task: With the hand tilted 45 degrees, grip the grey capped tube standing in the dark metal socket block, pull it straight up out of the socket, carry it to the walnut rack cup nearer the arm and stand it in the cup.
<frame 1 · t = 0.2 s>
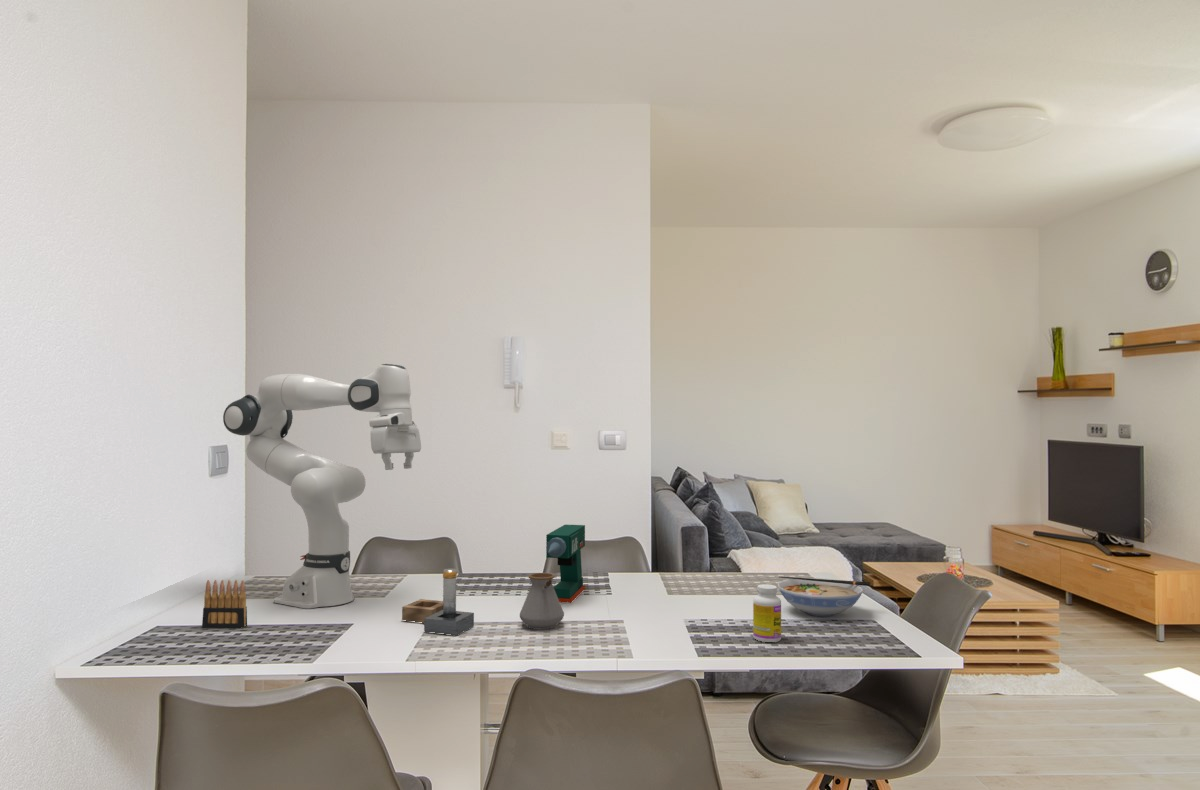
hand: (398, 469, 212), 39 cm above the table, tool pointing down, fingers open, 8 cm apart
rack: (426, 618, 200), on the table
power tool: (563, 601, 221), on the table
coffee pot: (544, 631, 189), on the table
ammunition clip: (224, 628, 192), on the table
supplement bottle: (767, 640, 183), on the table
grey capped tube: (449, 599, 190), in the socket block
socket block: (449, 629, 190), on the table
ramen bowl: (819, 614, 207), on the table
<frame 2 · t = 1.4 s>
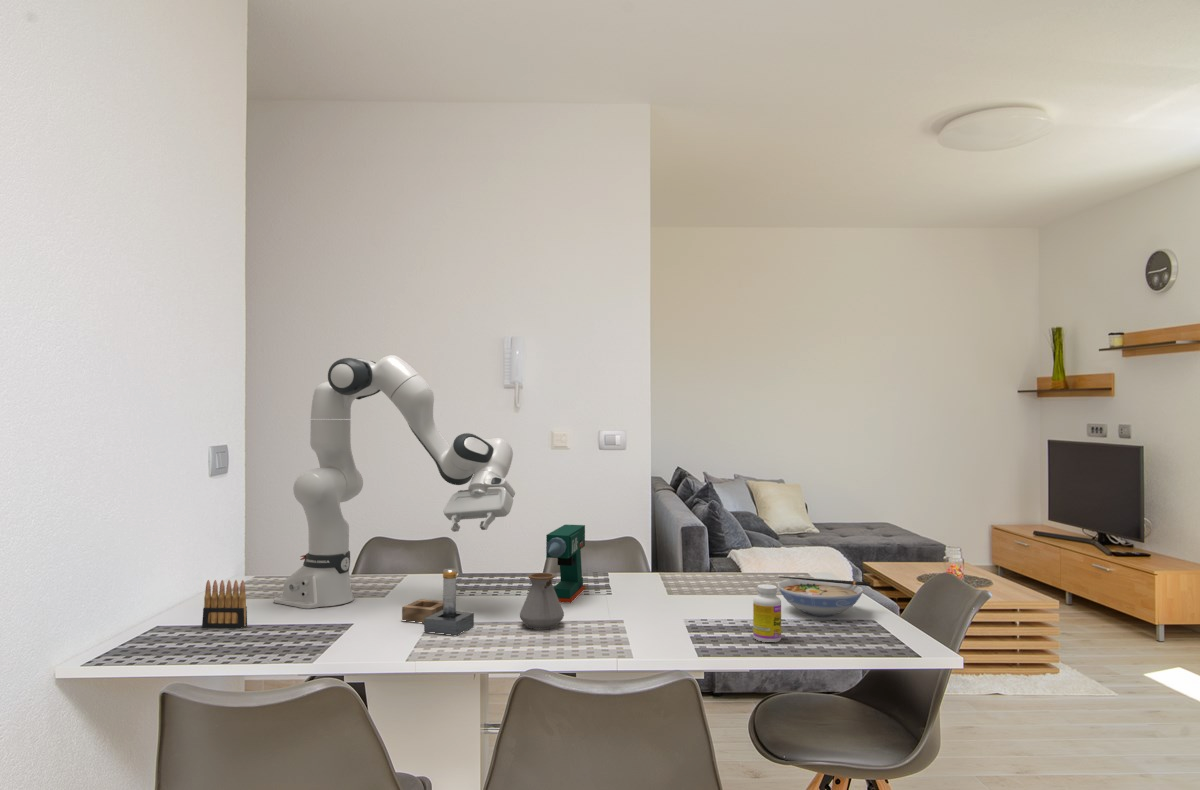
hand: (468, 529, 202), 24 cm above the table, tool tilted 45°, fingers open, 8 cm apart
nothing on the table moved.
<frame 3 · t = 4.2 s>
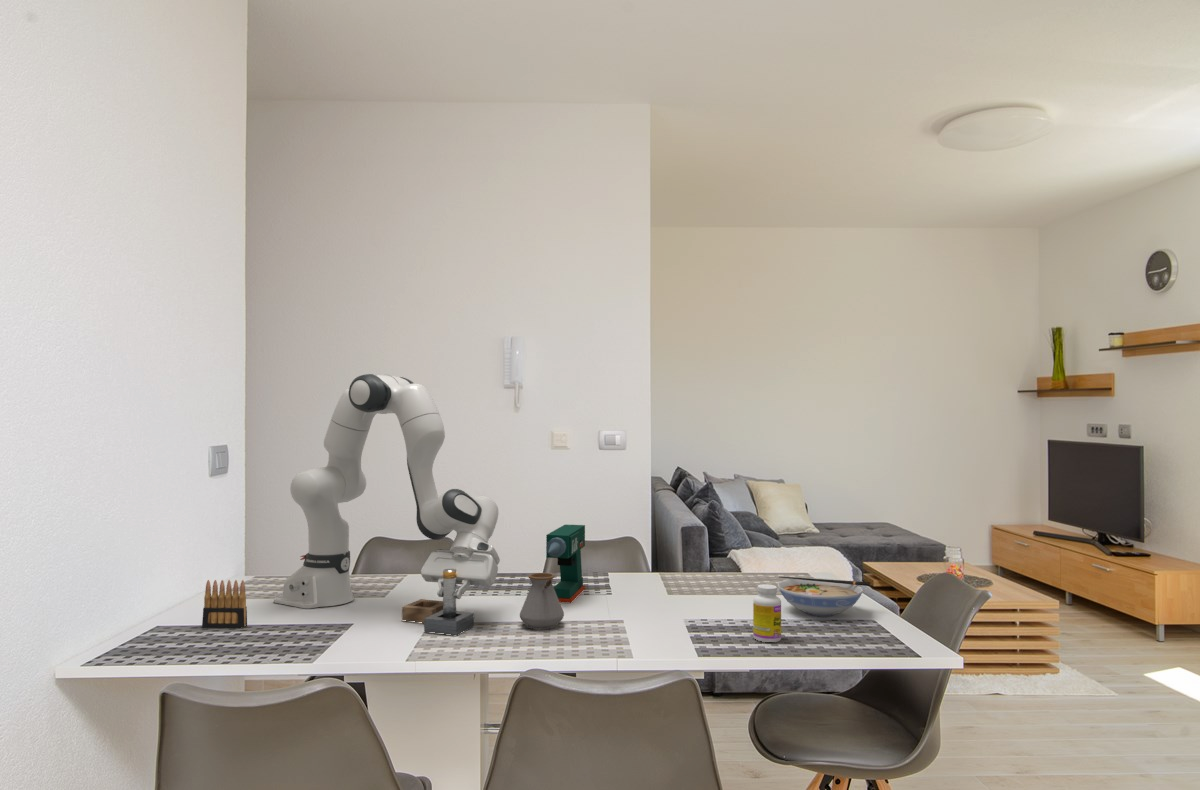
hand: (448, 596, 190), 8 cm above the table, tool tilted 45°, fingers closed on grey capped tube, 3 cm apart
grey capped tube: (449, 599, 190), in the socket block, touching gripper
everything else where it was.
when the fingers open (10 cm above the table, at t = 9.8 s): grey capped tube drops 1 cm, resting on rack.
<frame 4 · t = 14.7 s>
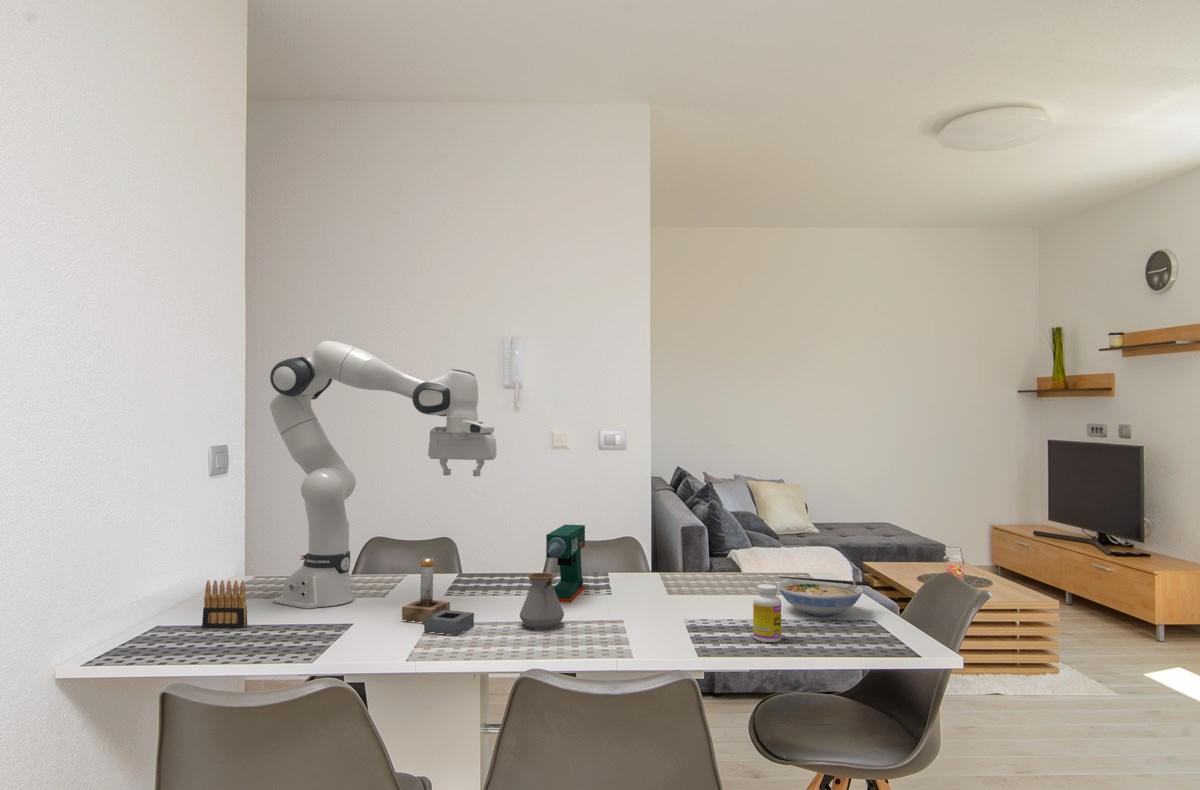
hand: (461, 475, 213), 37 cm above the table, tool pointing down, fingers open, 8 cm apart
grey capped tube: (426, 587, 201), in the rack, point 8 cm above the table
everything else where it was.
at the end: grey capped tube 0.0 cm off-centre on the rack, point 8.3 cm above the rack's base; the gripper is holding nothing; grey capped tube touching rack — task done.
